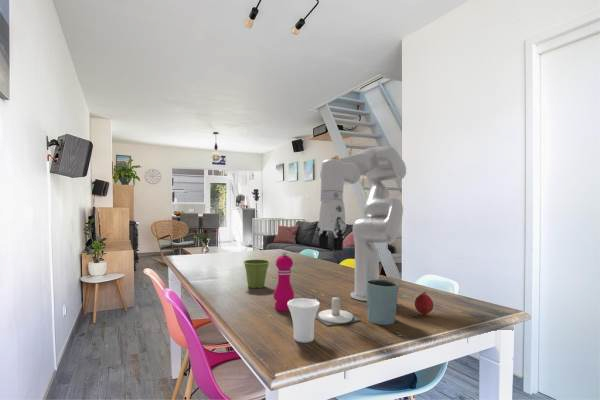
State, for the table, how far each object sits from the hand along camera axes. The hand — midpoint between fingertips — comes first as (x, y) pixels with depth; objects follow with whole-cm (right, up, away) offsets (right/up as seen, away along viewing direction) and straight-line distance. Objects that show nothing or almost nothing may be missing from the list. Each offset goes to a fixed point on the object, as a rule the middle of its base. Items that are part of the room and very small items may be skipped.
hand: (330, 248), depth 109 cm
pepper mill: (-16, -22, +8) cm, 28 cm away
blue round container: (+16, -23, -4) cm, 28 cm away
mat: (+1, -22, -3) cm, 22 cm away
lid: (+1, -22, -3) cm, 22 cm away
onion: (+32, -23, +2) cm, 39 cm away
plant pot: (-30, -23, +39) cm, 54 cm away
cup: (-9, -22, -19) cm, 30 cm away
